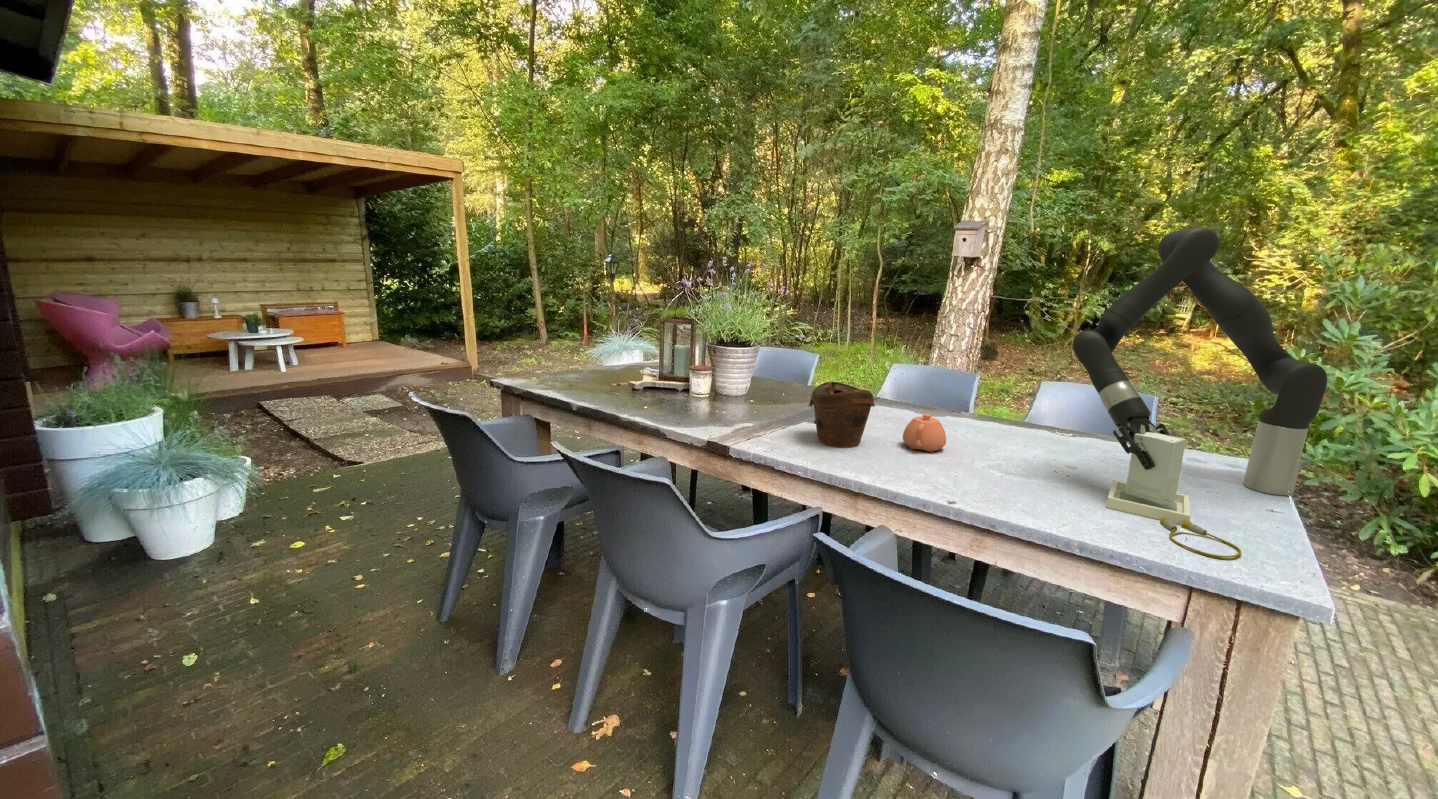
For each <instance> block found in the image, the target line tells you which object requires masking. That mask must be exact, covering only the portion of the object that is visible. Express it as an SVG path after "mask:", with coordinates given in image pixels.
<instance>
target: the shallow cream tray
mask: <svg viewBox="0 0 1438 799" xmlns="http://www.w3.org/2000/svg"><path fill="white" fill-rule="evenodd" d="M1126 485H1127V482H1125V481H1119V480H1114V479H1113V480H1112V483H1111V486H1110V490H1109V493H1108V496H1107V501H1106V505H1105V508H1107V509H1110V510H1114V511H1119V512H1124V513H1129V514H1132V515H1133V514H1134V515H1138V516H1140V517H1141V516H1142V517H1145V518H1150V519H1154V520H1159V521H1160V520H1161V519H1162V518H1167V519H1168V520H1170V521H1172V522H1173V523H1176V524H1175V525H1180V526H1181V525H1182V524H1183V522H1185V521H1186V522H1190V518H1191V507H1190V506H1191V505H1190V504H1191V503H1190V495H1187V494H1183V493H1182V494H1181V493H1176V499H1175V500H1174V502H1170V503H1165V504H1158V503H1155V502H1152V501H1149V500H1146V499H1143V498H1140V497H1137V496H1134V495H1131V494H1127V493H1125V491H1126Z"/></svg>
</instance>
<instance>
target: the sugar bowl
mask: <svg viewBox="0 0 1438 799" xmlns="http://www.w3.org/2000/svg"><path fill="white" fill-rule="evenodd" d="M902 441H903V442H904V443H905V445H907V447H909V449H912V450H920V451H925V452H927V453H933V452H934V451H939V450H941V449H942V448H944V447H945V446H946V444H947V436H946V431H945V428H944V427H943V425H942V423H941V421H940V420H939V419H938V418H934V417H932V414H930V413H922V416H915V417H913V418H912V419H911V420H910V421H909V423H907V425H906V426H905V429H904V430H903V434H902Z"/></svg>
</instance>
